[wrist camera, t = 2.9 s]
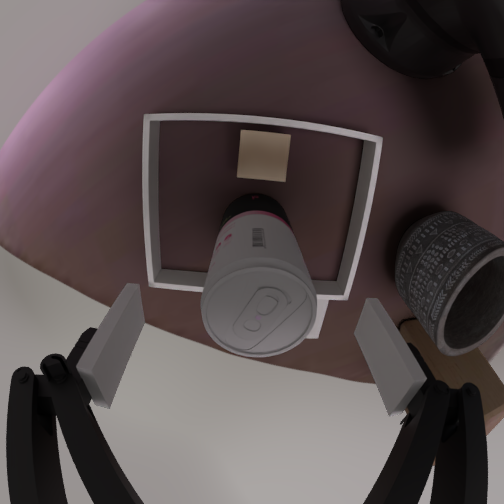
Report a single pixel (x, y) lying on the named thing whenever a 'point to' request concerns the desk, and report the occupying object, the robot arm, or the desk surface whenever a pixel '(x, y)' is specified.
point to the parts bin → (370, 146)
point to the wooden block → (460, 371)
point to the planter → (452, 280)
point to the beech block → (263, 155)
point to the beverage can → (257, 282)
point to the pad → (318, 318)
